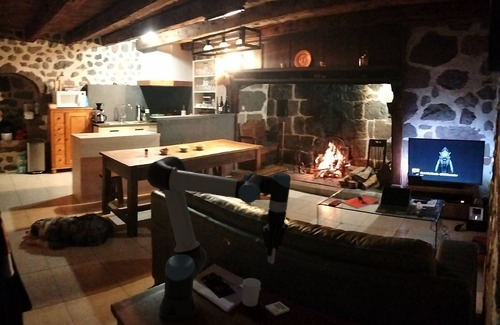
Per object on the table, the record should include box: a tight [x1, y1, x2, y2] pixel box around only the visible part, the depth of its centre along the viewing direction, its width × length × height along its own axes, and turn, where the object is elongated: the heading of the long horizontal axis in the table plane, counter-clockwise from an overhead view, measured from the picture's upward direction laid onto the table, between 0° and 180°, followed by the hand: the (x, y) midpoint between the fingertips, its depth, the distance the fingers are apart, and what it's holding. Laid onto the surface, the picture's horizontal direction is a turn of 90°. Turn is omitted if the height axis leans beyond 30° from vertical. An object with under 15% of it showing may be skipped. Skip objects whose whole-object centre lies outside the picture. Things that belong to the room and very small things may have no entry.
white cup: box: [242, 277, 261, 307], centre depth 181 cm, size 8×8×10 cm
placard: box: [265, 301, 291, 316], centre depth 178 cm, size 7×8×1 cm
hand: (270, 262), depth 172 cm, fingers closed
